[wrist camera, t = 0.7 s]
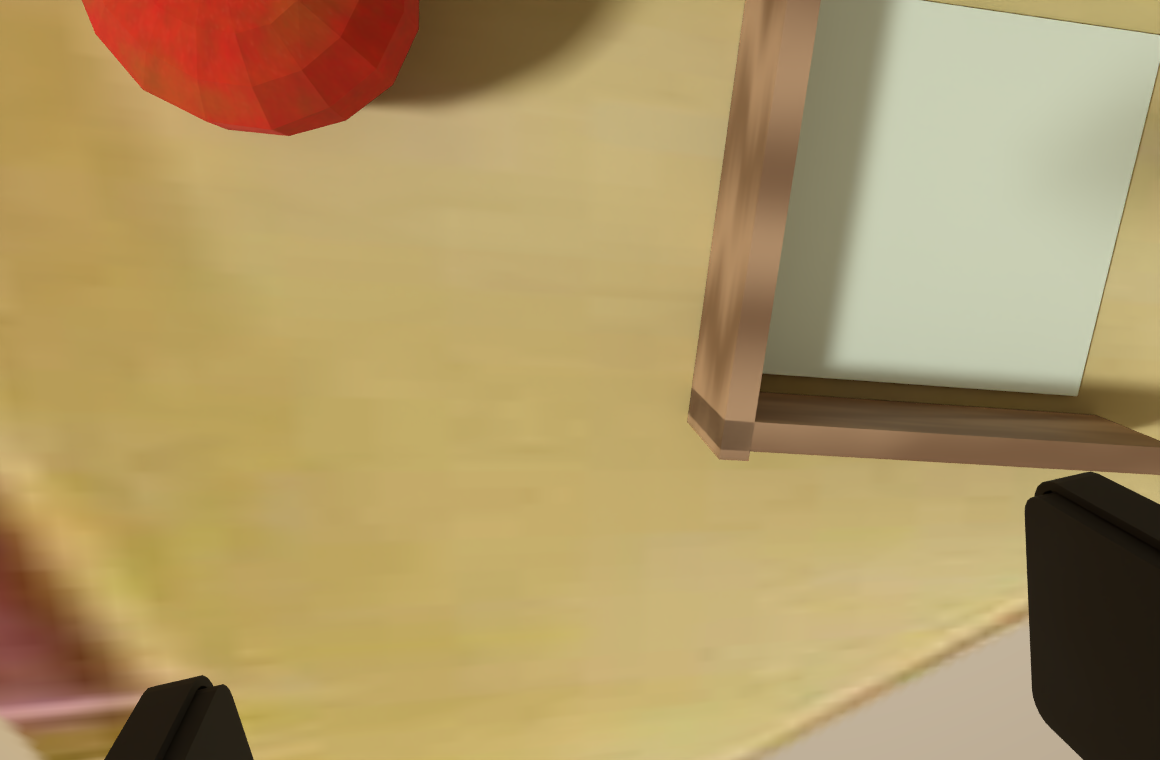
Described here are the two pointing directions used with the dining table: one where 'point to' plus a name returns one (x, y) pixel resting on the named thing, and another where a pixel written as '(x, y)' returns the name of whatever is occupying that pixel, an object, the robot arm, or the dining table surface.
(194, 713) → the robot arm
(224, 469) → the dining table surface
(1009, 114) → the mat
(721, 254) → the wooden corner frame
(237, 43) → the apple
